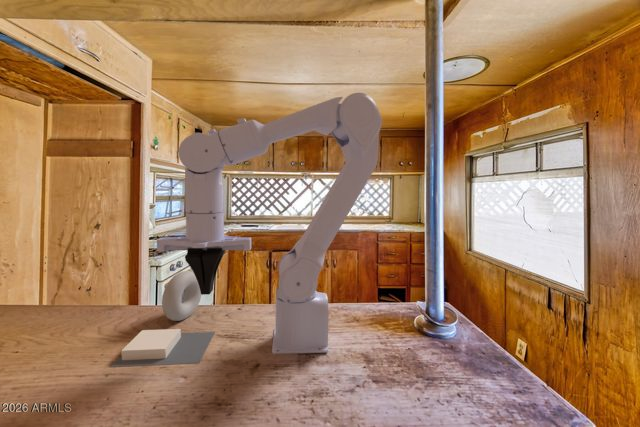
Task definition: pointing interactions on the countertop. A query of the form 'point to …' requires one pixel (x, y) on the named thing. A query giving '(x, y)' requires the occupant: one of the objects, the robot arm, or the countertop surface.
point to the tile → (151, 344)
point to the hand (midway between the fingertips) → (207, 292)
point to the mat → (176, 352)
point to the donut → (174, 294)
